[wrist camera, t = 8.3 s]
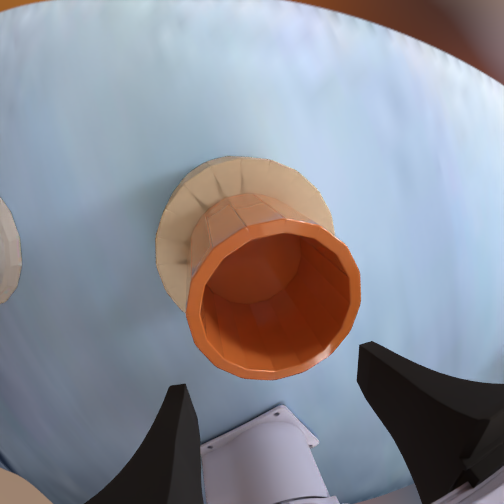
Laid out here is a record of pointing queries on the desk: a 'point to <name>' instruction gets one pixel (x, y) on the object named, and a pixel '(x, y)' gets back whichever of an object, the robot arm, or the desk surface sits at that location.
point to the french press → (8, 254)
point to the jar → (215, 189)
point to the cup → (267, 288)
